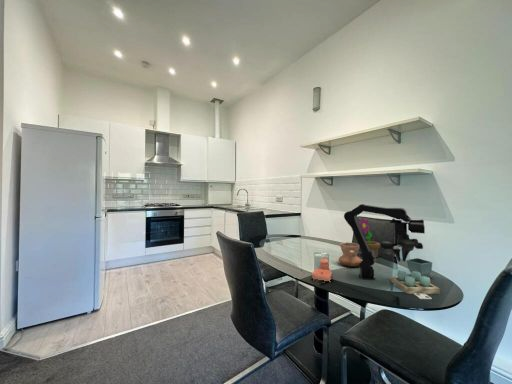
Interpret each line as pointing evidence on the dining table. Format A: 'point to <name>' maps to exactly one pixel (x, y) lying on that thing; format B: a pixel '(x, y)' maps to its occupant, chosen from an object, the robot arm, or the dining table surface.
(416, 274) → the button
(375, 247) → the flowerpot
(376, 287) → the dining table surface
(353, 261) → the ceramic jug
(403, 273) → the button
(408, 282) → the button
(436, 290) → the board
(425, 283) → the button
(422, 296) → the card
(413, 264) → the flower pot
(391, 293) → the dining table surface
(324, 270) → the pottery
